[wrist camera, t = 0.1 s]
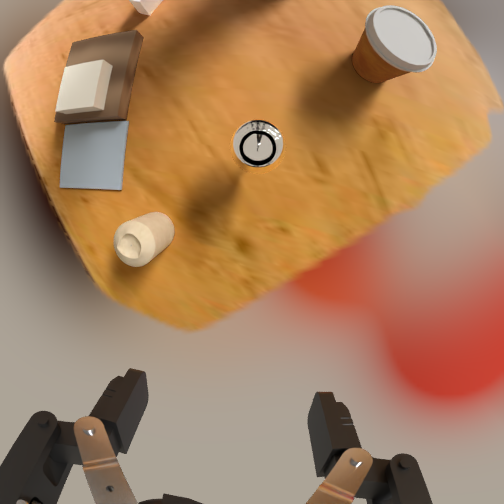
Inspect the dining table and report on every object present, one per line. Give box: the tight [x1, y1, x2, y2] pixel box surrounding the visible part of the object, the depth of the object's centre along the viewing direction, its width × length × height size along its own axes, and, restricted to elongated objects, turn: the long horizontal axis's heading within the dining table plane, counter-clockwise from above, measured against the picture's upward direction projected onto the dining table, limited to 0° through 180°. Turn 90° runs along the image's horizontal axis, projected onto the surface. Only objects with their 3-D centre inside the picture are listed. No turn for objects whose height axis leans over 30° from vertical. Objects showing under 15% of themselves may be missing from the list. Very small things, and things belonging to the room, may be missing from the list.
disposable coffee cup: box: [352, 6, 437, 83], centre depth 27 cm, size 10×10×12 cm
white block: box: [56, 60, 113, 114], centre depth 30 cm, size 7×7×3 cm
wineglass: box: [230, 119, 286, 174], centre depth 31 cm, size 6×6×12 cm
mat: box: [60, 121, 129, 190], centre depth 37 cm, size 10×12×1 cm
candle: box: [114, 212, 174, 267], centre depth 35 cm, size 6×6×10 cm
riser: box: [54, 30, 143, 124], centre depth 32 cm, size 14×12×3 cm
